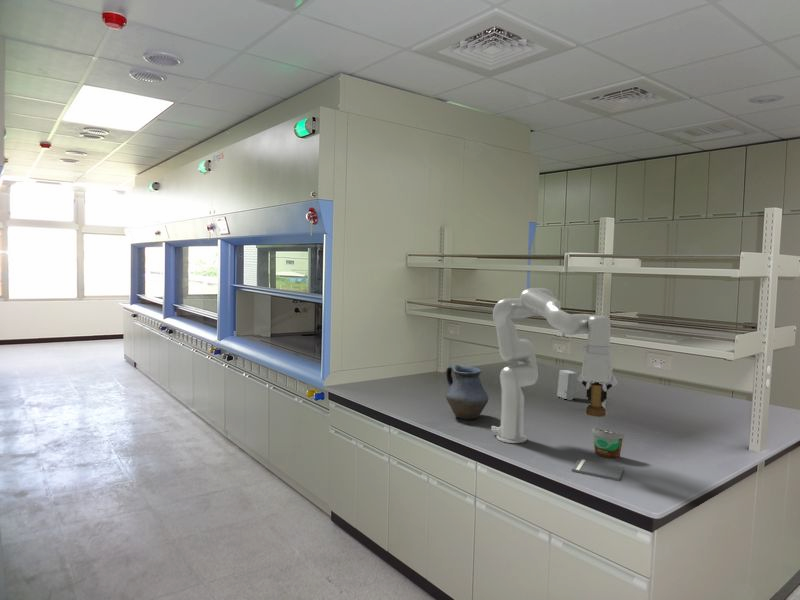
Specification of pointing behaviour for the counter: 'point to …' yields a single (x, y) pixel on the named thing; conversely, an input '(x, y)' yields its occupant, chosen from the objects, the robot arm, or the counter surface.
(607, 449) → the food container
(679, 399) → the counter surface
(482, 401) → the pitcher
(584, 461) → the mat
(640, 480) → the counter surface
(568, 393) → the skincare box
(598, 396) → the brown wooden turned post
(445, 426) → the counter surface
